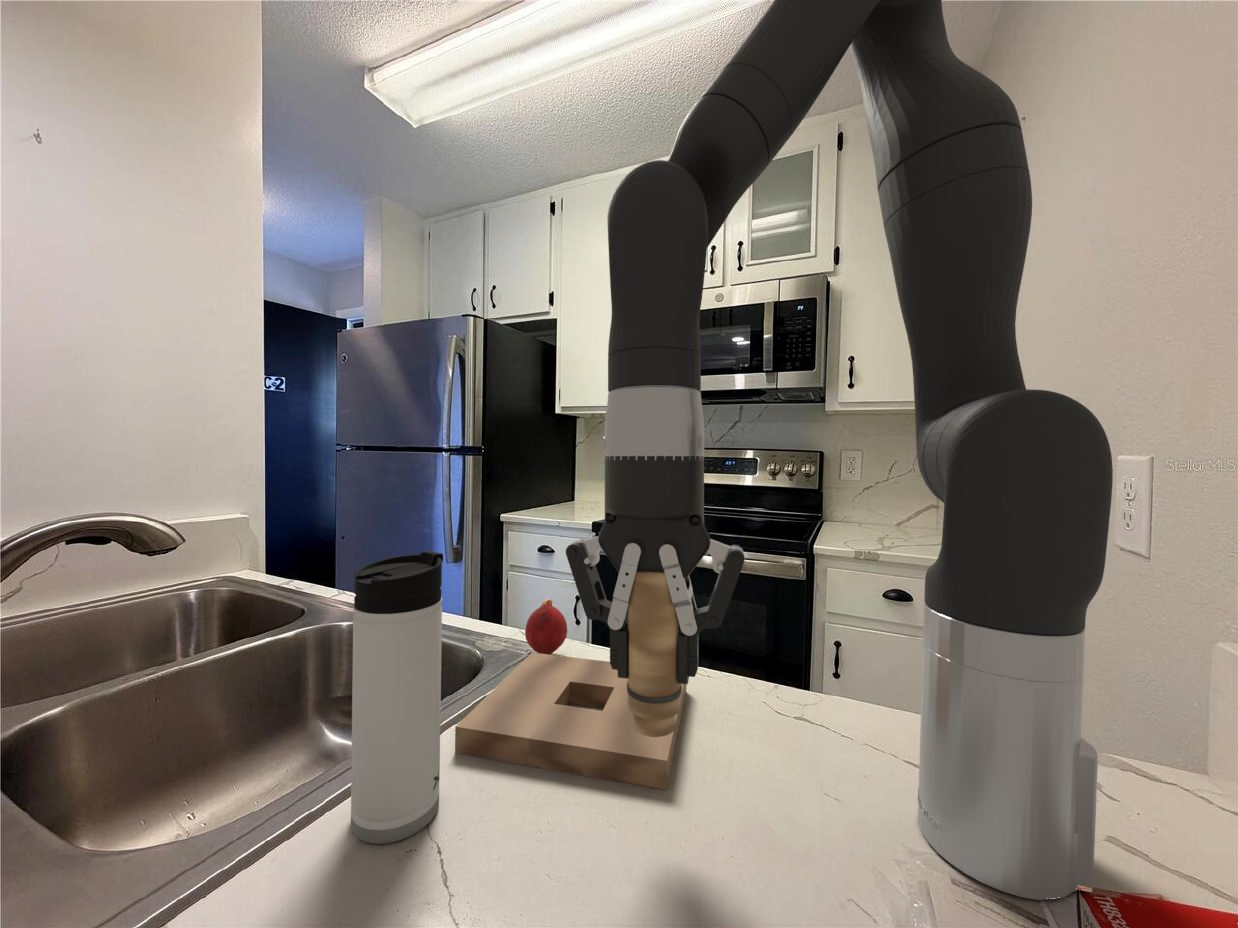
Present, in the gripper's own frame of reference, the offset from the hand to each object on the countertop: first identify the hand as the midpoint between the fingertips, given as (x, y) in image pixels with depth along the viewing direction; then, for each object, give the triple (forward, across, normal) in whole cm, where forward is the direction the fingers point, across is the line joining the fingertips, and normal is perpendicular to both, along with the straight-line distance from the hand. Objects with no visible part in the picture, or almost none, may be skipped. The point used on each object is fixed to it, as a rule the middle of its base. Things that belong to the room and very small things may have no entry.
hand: (653, 675), depth 37 cm
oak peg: (+4, 0, 0) cm, 4 cm away
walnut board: (+11, +9, -13) cm, 20 cm away
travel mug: (+11, +20, +4) cm, 23 cm away
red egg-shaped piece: (+11, +19, -27) cm, 35 cm away
